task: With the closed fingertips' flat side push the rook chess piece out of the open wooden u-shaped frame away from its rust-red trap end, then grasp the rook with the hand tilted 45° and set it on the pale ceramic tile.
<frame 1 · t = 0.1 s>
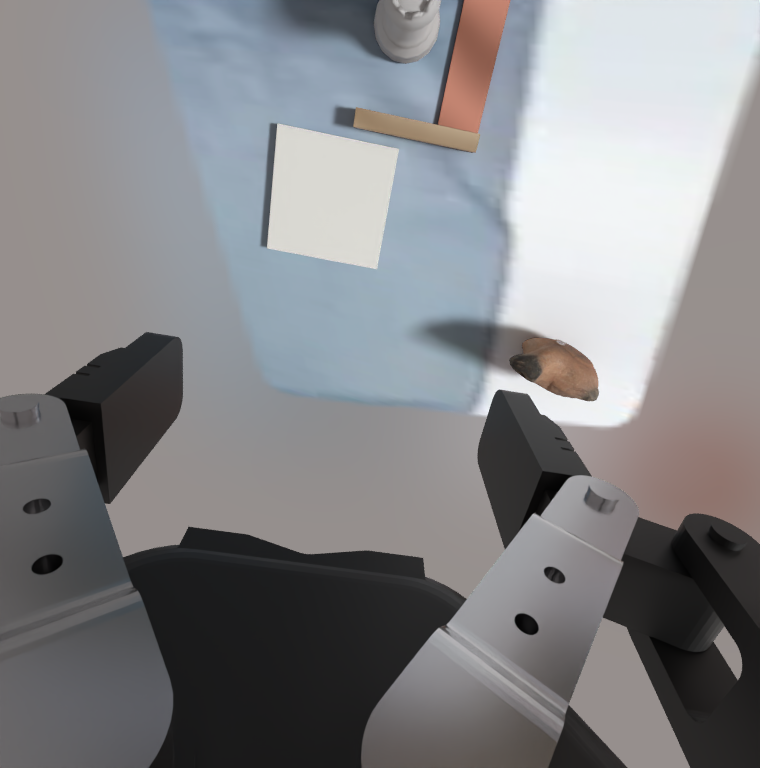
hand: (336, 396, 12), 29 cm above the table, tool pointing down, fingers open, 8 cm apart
tile: (330, 200, 37), on the table
wooden u-shaped frame: (434, 32, 33), on the table
oil lamp: (536, 348, 43), on the table
rook chess piece: (406, 26, 33), on the table
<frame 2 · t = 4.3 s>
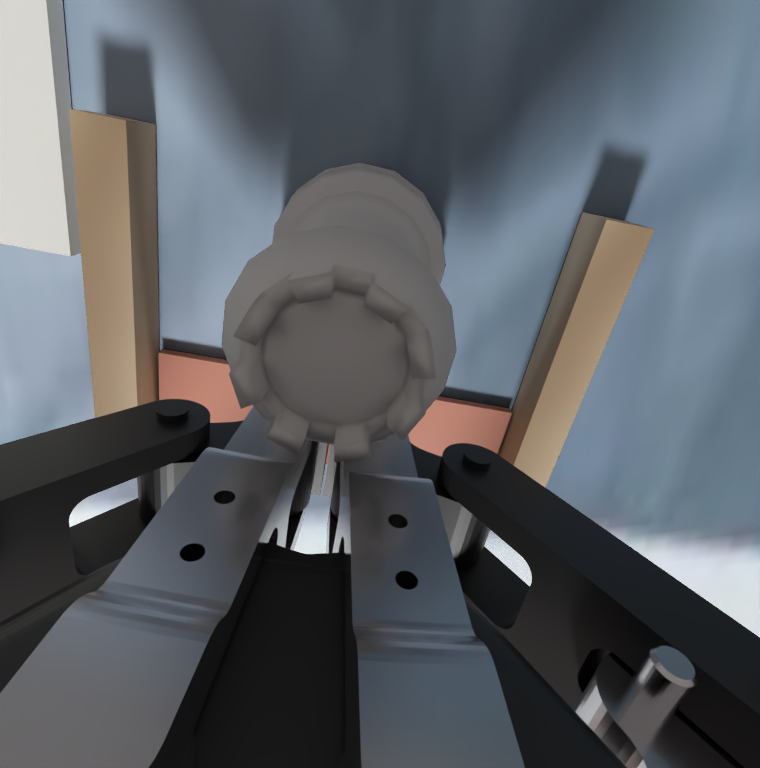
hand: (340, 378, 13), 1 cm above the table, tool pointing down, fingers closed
wooden u-shaped frame: (348, 334, 14), on the table
rook chess piece: (360, 251, 13), on the table, touching gripper
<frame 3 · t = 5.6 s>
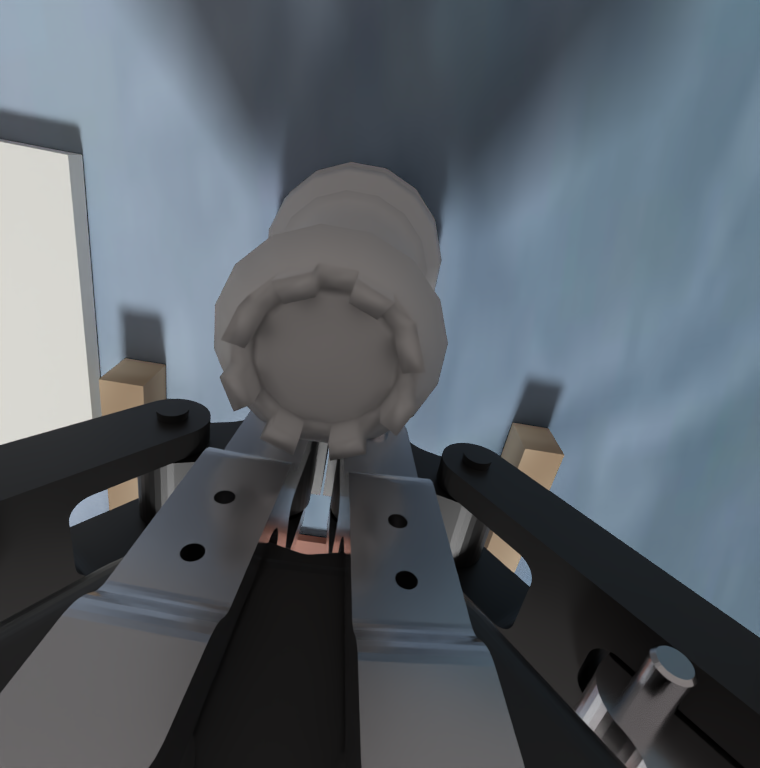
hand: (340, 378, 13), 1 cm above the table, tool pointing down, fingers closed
wooden u-shaped frame: (324, 505, 17), on the table
rook chess piece: (357, 250, 13), on the table
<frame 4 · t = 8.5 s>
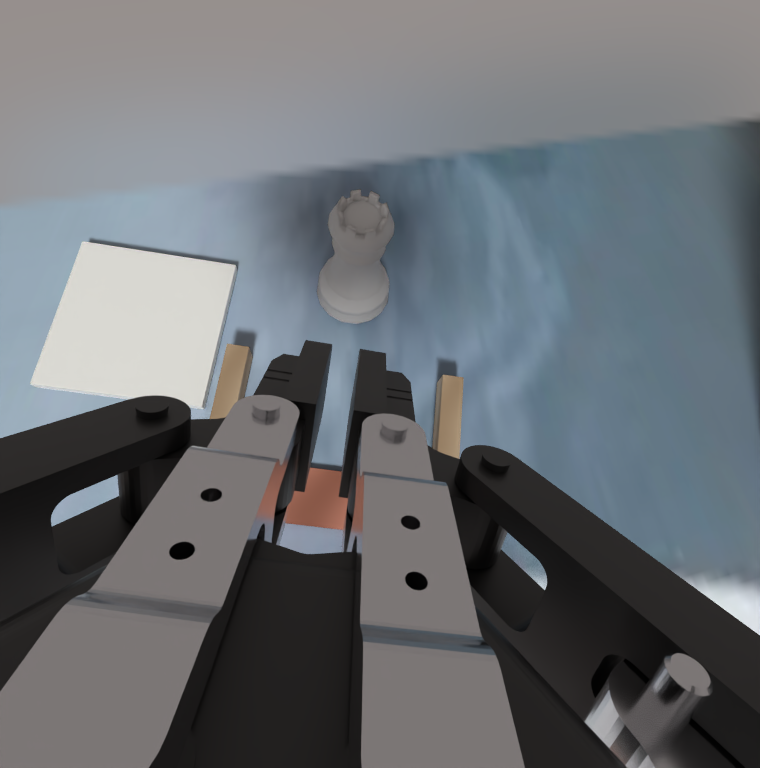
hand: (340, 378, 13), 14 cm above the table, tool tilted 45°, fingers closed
tile: (143, 325, 28), on the table
wooden u-shaped frame: (335, 444, 27), on the table
rook chess piece: (352, 296, 30), on the table
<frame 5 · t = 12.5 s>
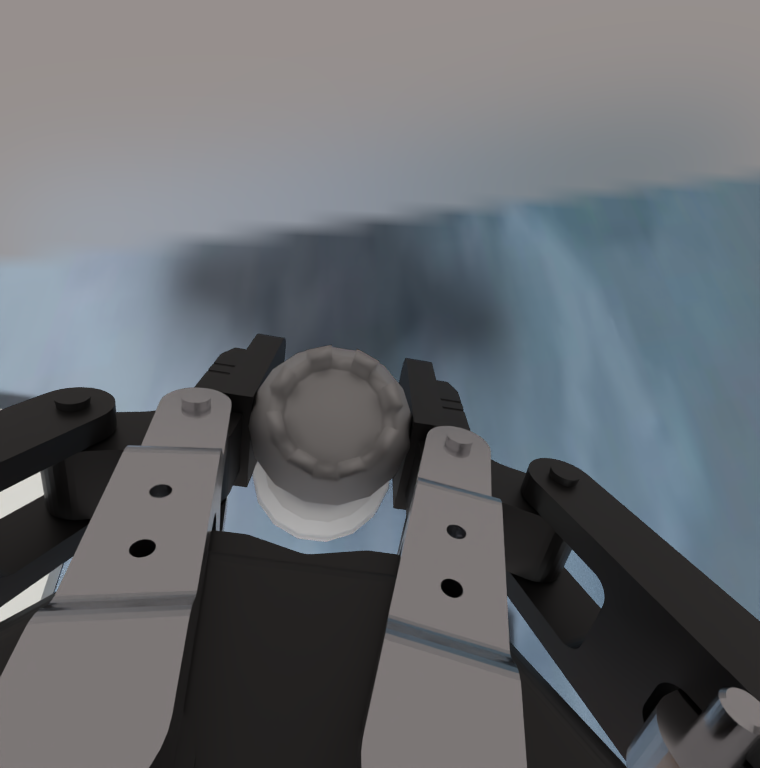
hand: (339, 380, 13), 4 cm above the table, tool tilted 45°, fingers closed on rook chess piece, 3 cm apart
rook chess piece: (321, 473, 16), on the table, touching gripper
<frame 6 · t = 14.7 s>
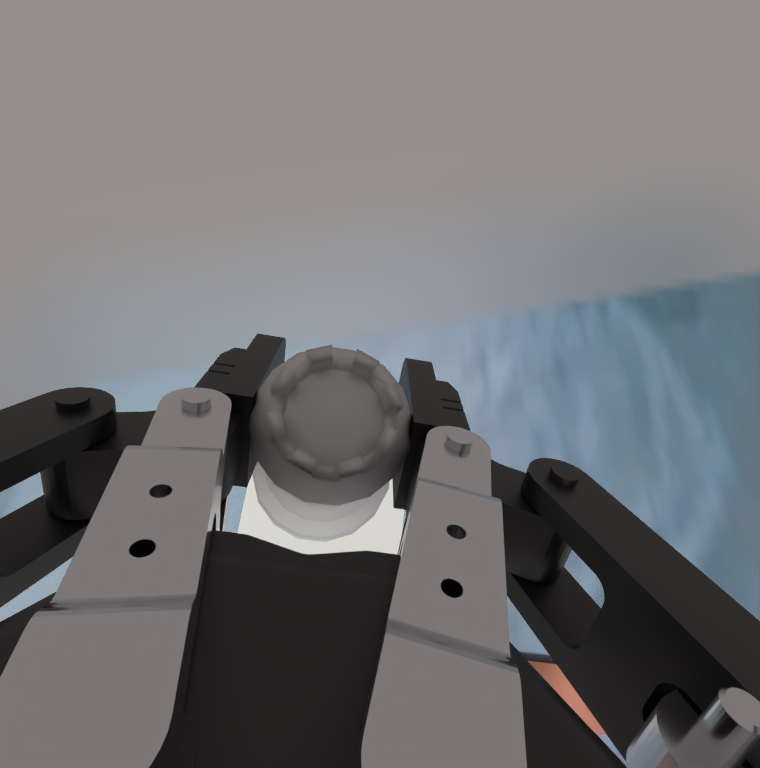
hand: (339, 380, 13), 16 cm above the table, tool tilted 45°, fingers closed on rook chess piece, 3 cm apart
tile: (326, 499, 28), on the table
wooden u-shaped frame: (523, 629, 27), on the table
rook chess piece: (321, 473, 16), point 12 cm above the table, touching gripper
when the fingers open (6 cm above the table, at t = 16.9 s): rook chess piece drops 1 cm, resting on tile.
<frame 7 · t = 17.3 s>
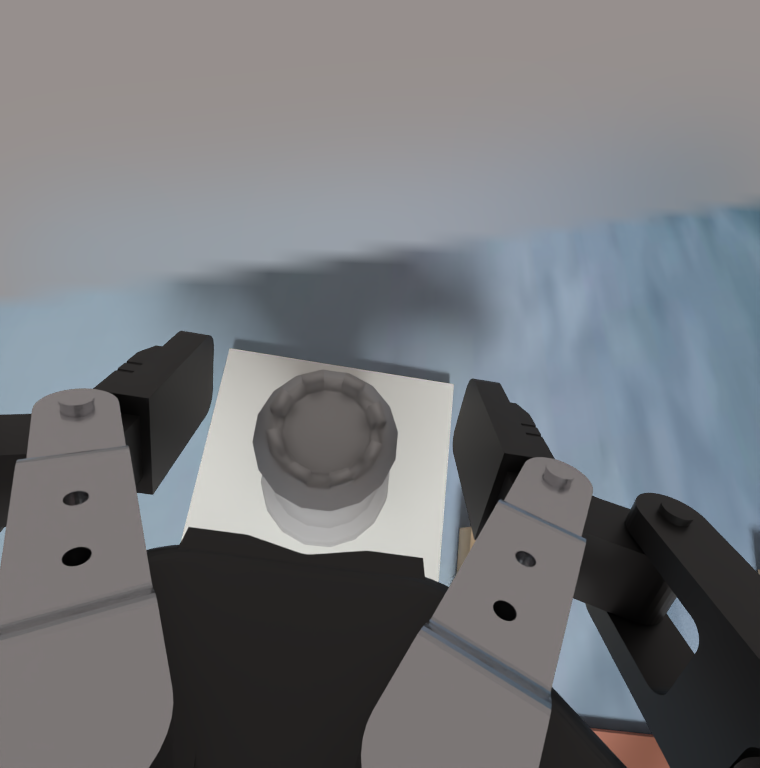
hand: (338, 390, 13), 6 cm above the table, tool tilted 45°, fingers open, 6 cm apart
tile: (325, 481, 18), on the table
wooden u-shaped frame: (632, 683, 17), on the table
rook chess piece: (326, 483, 18), resting on tile
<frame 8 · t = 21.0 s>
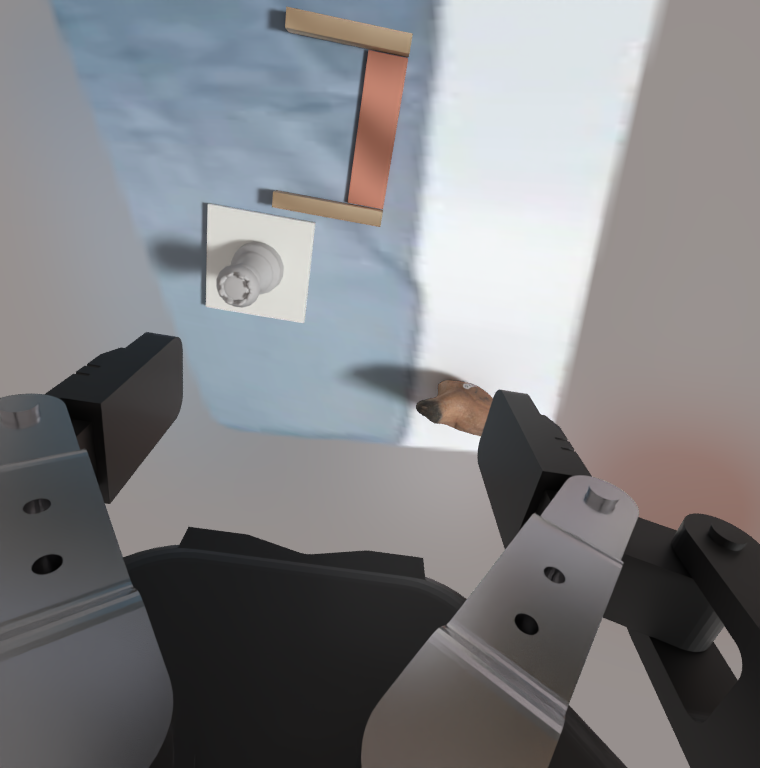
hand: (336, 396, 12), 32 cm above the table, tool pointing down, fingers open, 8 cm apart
tile: (259, 265, 43), on the table
wooden u-shaped frame: (339, 127, 38), on the table
oil lamp: (453, 387, 48), on the table
rook chess piece: (260, 265, 42), resting on tile
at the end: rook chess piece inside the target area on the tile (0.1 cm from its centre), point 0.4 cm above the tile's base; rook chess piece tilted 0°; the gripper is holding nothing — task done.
